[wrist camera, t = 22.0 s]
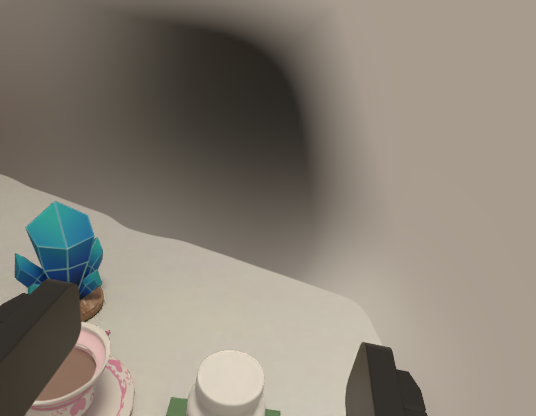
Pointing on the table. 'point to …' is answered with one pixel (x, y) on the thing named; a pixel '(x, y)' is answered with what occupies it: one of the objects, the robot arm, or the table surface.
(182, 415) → the medicine mat
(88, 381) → the teacup
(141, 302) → the table surface
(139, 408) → the table surface
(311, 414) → the table surface
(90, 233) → the gemstone
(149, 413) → the table surface
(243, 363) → the pill bottle
